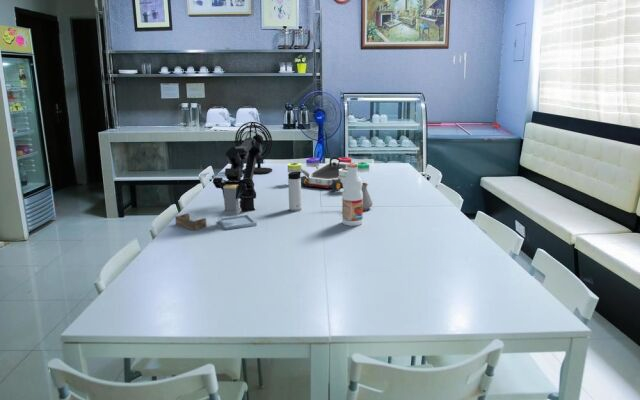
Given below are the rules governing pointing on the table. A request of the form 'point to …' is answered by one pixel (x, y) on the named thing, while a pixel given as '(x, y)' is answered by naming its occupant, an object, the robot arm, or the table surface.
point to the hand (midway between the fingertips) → (230, 198)
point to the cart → (326, 172)
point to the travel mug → (294, 191)
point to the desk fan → (259, 139)
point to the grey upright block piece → (231, 200)
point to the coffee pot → (366, 197)
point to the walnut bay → (190, 222)
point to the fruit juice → (352, 197)
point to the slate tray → (237, 222)
